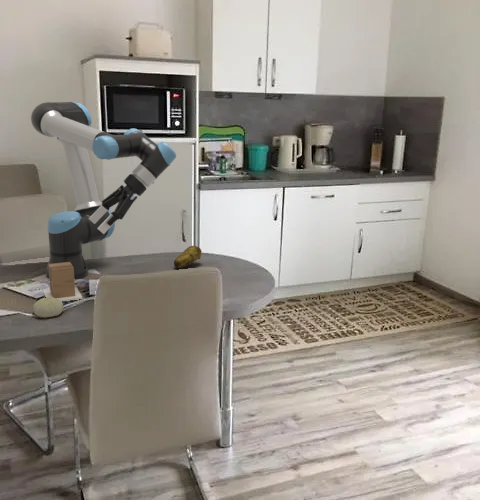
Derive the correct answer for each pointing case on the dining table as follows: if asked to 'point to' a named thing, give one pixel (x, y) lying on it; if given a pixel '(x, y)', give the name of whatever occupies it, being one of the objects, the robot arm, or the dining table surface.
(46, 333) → the dining table surface
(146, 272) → the dining table surface
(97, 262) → the dining table surface
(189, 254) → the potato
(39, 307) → the sea urchin shell
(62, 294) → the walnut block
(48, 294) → the tile
